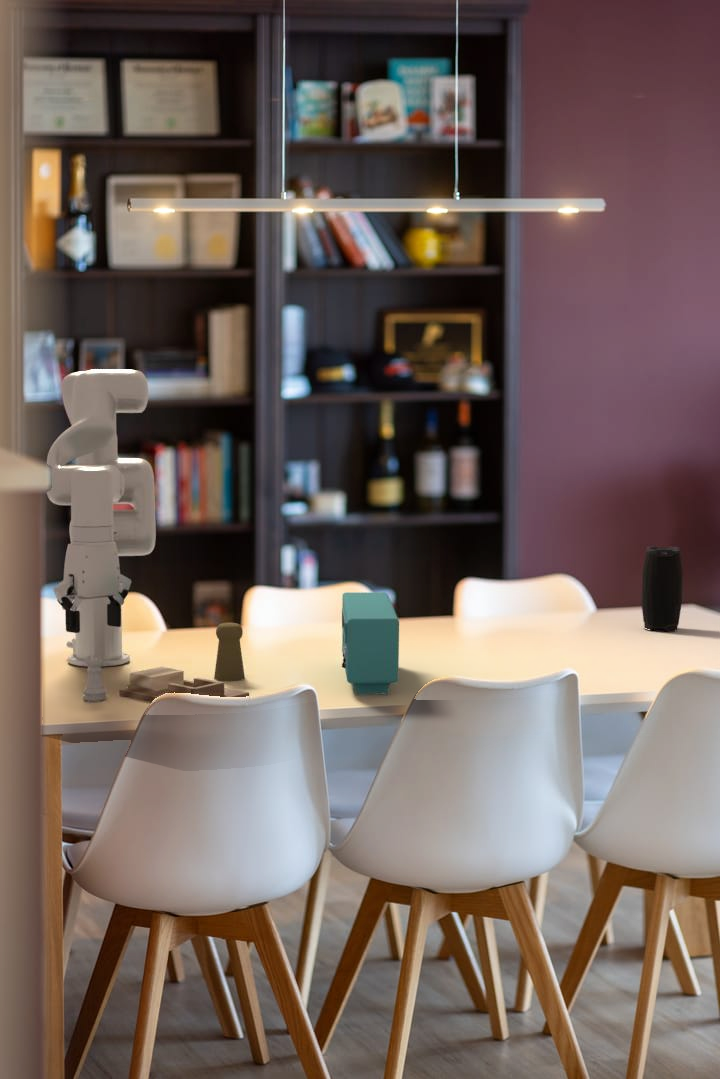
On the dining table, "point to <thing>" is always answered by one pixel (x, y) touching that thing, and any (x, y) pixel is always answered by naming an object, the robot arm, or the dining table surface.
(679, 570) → the portable speaker
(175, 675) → the cream rectangular block
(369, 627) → the radio
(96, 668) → the rook chess piece
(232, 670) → the cork
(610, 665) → the dining table surface
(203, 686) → the board
